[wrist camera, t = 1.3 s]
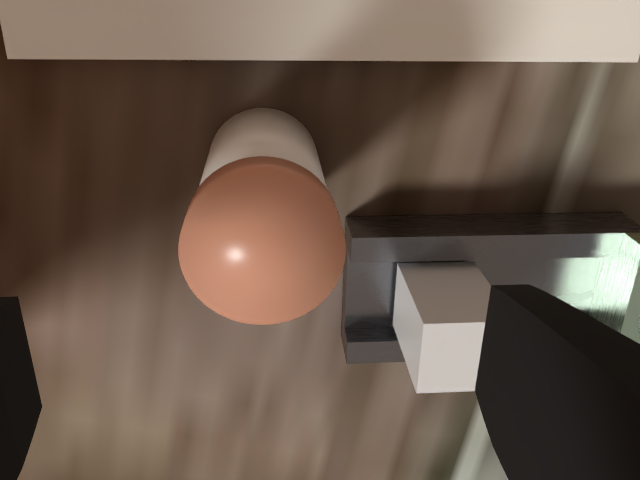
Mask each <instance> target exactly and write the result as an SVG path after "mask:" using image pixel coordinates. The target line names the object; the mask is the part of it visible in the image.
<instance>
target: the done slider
mask: <svg viewBox="0 0 640 480" xmlns="http://www.w3.org/2000/svg"><path fill="white" fill-rule="evenodd" d="M490 290H491V285H490V284H489V282H488V281H487V279H486V278H485V276H484V275H483V273H482V272H481V270H480V269H479V268H478V266H477V265H476V263H475V262H474V261H471V262H426V263H397V275H396V288H395V300H394V313H393V327H394V330H395V333H396V336H397V339H398V341H399V344H400V347H401V350H402V353H403V356H404V359H405V362H406V365H407V367H408V370H409V373H410V376H411V379H412V382H413V385H414V388H415V390H416V393H437V392H462V391H475V385H476V379H477V373H478V366H479V360H480V353H481V347H482V341H483V334H484V328H485V321H486V315H487V309H488V302H489V296H490Z"/></svg>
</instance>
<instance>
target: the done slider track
mask: <svg viewBox="0 0 640 480" xmlns="http://www.w3.org/2000/svg"><path fill="white" fill-rule="evenodd" d="M345 242H346V256H345V263H344V270H343V297H342V323H341V338H342V343H343V348H344V353H345V358H346V363H347V364H352V363H380V362H405V359H404V356H403V353H402V350H401V347H400V344H399V341H398V339H397V336H396V333H395V330H394V327H393V313H394V300H395V288H396V275H397V263H426V262H471V261H474V262H475V263H476V265H477V266H478V268H479V269H480V270H481V272H482V273H483V275H484V276H485V278H486V279H487V281H488V282H489V284H490V285H518V284H529V285H532V286H534V287H536V288H539V289H541V290H543V291H545V292H547V293H549V294H551V295H553V296H555V297H557V298H559V299H560V300H562V301H564V302H566V303H568V304H570V305H571V306H573V307H575V308H577V309H579V310H580V311H582V312H584V313H586V314H587V315H589V316H591V317H593V318H595V319H596V320H598V321H600V322H602V323H603V324H605V325H607V326H609V327H610V328H612V329H614V330H616V331H618V332H619V333H621V334H623V335H625V336H627V337H628V338H630V339H632V340H634V341H636V342H637V343H639V344H640V225H639V224H637V223H636V222H635V221H633V220H632V219H630V218H629V217H628V216H626V215H625V214H624V213H622V212H607V213H544V214H481V215H418V216H355V217H345Z"/></svg>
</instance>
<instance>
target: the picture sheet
mask: <svg viewBox="0 0 640 480" xmlns="http://www.w3.org/2000/svg"><path fill="white" fill-rule="evenodd" d="M0 23H1V28H2V33H3V39H4V44H5V49H6V54H7V59H99V60H297V61H495V62H638V59H639V55H640V0H0Z"/></svg>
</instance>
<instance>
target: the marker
mask: <svg viewBox="0 0 640 480" xmlns="http://www.w3.org/2000/svg"><path fill="white" fill-rule="evenodd" d="M178 253H179V262H180V267H181V270H182V273H183V276H184V278H185V280H186V282H187V284H188V285H189V287H190V288H191V290H192V291H193V293H194V294H195V295H196V296H197V297H198V298H199V300H201V301H202V302H203V303H204V304H205V305H206V306H207V307H209V308H210V309H212V310H213V311H215V312H216V313H218V314H220V315H222V316H224V317H227V318H229V319H232V320H235V321H238V322H242V323H248V324H259V325H267V324H277V323H282V322H286V321H289V320H292V319H295V318H298V317H300V316H302V315H304V314H306V313H308V312H309V311H311V310H313V309H314V308H315V307H317V306H318V305H319V304H320V303H322V302H323V301H324V300H325V299H326V298H327V297H328V295H329V294H330V293H331V291H332V290H333V289H334V287H335V286H336V284H337V282H338V280H339V278H340V276H341V273H342V271H343V267H344V263H345V256H346V242H345V237H344V232H343V228H342V225H341V221H340V218H339V214H338V211H337V208H336V205H335V202H334V200H333V198H332V196H331V194H330V192H329V191H328V189H327V187H326V183H325V180H324V176H323V172H322V168H321V165H320V161H319V157H318V154H317V150H316V146H315V143H314V141H313V139H312V137H311V135H310V133H309V132H308V130H307V129H306V128H305V126H304V125H303V124H302V123H301V122H300V121H298V120H297V119H296V118H294V117H293V116H291V115H290V114H288V113H285V112H283V111H280V110H277V109H272V108H253V109H248V110H245V111H242V112H240V113H238V114H236V115H234V116H232V117H231V118H229V119H228V120H227V121H226V122H225V123H224V124H223V125H222V126H221V127H220V128H219V130H218V131H217V133H216V134H215V136H214V138H213V141H212V143H211V147H210V150H209V154H208V157H207V161H206V164H205V168H204V171H203V175H202V178H201V182H200V185H199V187H198V188H197V190H196V192H195V193H194V195H193V197H192V199H191V201H190V203H189V207H188V210H187V213H186V216H185V220H184V223H183V226H182V230H181V233H180V237H179V245H178Z"/></svg>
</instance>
